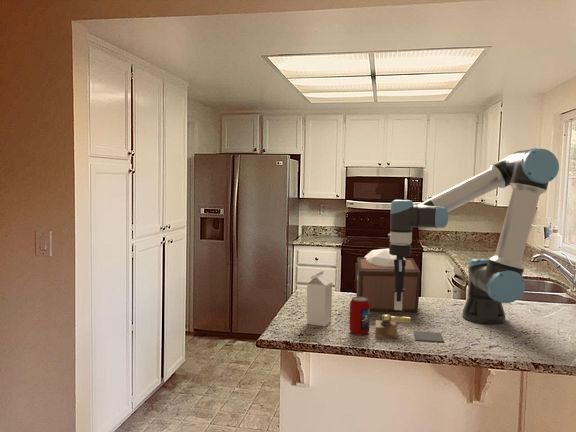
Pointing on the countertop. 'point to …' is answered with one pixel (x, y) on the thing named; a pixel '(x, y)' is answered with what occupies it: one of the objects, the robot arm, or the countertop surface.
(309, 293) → the milk carton
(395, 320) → the lever
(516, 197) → the robot arm
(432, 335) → the mat
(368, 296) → the tissue box
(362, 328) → the beverage can
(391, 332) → the pedestal
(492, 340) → the countertop surface
